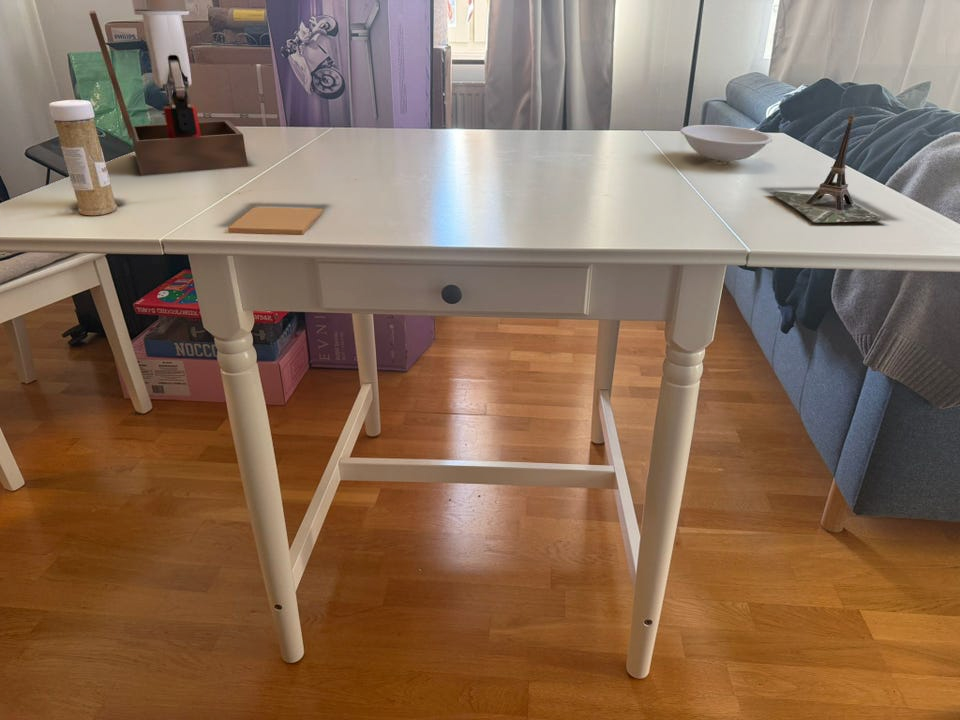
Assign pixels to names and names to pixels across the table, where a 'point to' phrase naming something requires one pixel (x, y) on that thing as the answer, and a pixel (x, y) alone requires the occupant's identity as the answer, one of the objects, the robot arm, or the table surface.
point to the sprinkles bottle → (83, 156)
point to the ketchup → (170, 122)
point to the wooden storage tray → (188, 148)
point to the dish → (725, 141)
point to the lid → (112, 73)
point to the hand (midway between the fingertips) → (184, 131)
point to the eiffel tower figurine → (830, 194)
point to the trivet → (276, 220)
